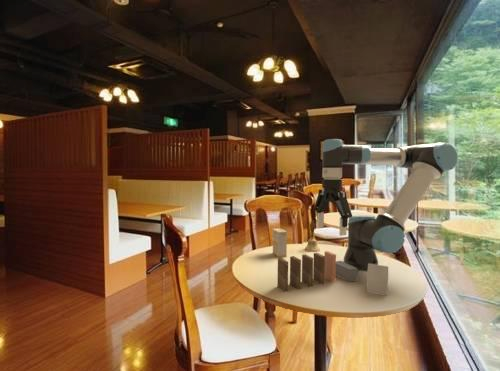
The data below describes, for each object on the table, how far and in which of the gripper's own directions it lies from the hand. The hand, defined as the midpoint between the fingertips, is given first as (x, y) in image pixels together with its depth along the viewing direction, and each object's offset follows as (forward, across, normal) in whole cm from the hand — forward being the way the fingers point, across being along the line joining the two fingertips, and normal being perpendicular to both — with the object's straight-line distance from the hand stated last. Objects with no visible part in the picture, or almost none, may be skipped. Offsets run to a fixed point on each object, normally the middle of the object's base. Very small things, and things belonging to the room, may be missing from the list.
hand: (331, 231), depth 115 cm
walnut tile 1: (+20, 0, -22) cm, 30 cm away
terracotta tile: (+20, 0, 0) cm, 20 cm away
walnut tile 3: (+20, 0, -11) cm, 23 cm away
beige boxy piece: (+20, +16, +8) cm, 27 cm away
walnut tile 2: (+20, 0, -17) cm, 26 cm away
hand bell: (+20, -38, +19) cm, 47 cm away
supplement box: (+20, -37, -3) cm, 42 cm away
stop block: (+20, 0, +8) cm, 21 cm away
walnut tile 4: (+20, 0, -6) cm, 21 cm away
